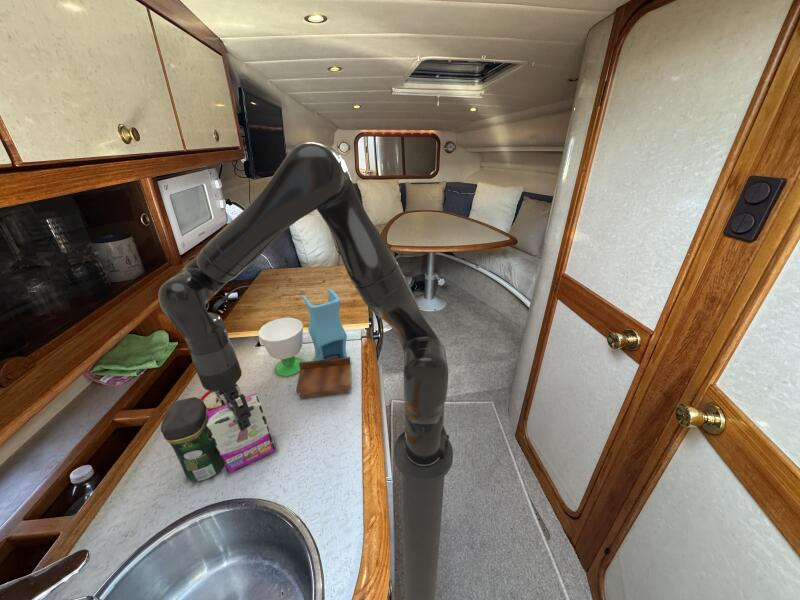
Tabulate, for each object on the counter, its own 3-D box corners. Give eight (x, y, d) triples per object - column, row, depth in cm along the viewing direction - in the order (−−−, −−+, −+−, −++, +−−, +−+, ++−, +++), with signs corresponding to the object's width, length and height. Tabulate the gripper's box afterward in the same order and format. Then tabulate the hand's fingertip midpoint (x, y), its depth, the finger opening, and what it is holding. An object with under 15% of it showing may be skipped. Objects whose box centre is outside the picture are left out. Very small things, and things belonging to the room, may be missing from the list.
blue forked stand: (339, 349, 116) (331, 288, 104) (350, 364, 108) (342, 300, 97) (313, 358, 112) (302, 295, 100) (322, 374, 104) (310, 308, 92)
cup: (274, 387, 99) (263, 346, 92) (264, 363, 109) (253, 325, 102) (316, 370, 106) (308, 331, 98) (303, 350, 116) (295, 313, 108)
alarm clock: (240, 379, 97) (228, 407, 83) (244, 397, 99) (233, 427, 85) (203, 386, 95) (184, 415, 81) (208, 404, 96) (190, 436, 82)
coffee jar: (193, 452, 79) (166, 398, 70) (227, 443, 81) (205, 389, 73) (183, 488, 71) (151, 432, 62) (222, 477, 73) (196, 421, 65)
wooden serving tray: (351, 372, 105) (349, 357, 102) (351, 394, 96) (349, 378, 93) (302, 377, 103) (299, 362, 100) (298, 400, 94) (294, 384, 91)
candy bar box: (272, 437, 83) (257, 391, 75) (276, 451, 79) (261, 404, 71) (225, 458, 78) (204, 411, 70) (227, 474, 74) (206, 426, 66)
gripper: (250, 367, 63) (267, 424, 70) (221, 340, 71) (240, 393, 79) (210, 388, 58) (233, 446, 65) (184, 356, 66) (208, 411, 74)
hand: (237, 417), depth 72 cm, fingers open, 8 cm apart
